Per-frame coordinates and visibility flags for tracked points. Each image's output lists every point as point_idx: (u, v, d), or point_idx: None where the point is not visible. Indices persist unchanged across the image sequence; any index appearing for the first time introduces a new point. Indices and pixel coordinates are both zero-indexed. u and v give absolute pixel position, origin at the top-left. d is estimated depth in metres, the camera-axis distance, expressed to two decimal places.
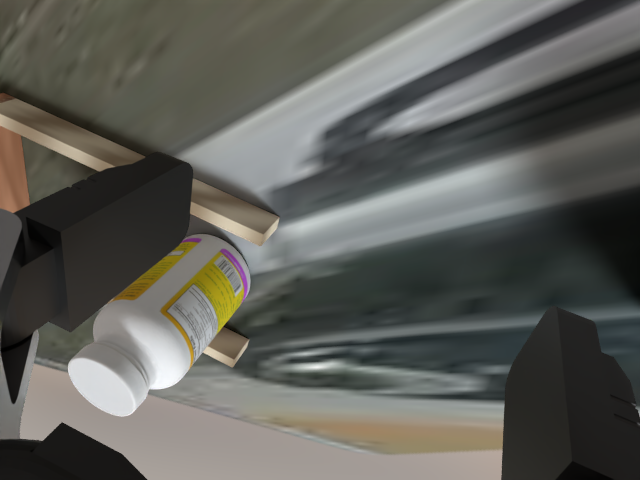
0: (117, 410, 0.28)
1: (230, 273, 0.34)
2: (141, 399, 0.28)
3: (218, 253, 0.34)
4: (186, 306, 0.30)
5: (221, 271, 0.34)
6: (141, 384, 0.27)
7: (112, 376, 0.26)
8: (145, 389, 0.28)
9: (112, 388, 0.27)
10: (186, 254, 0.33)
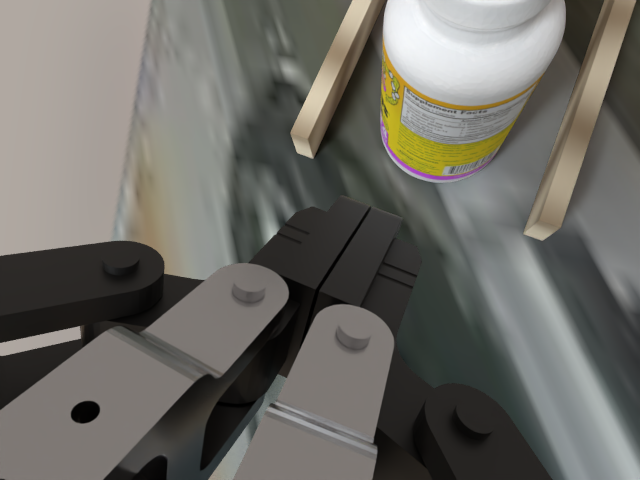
0: None
1: (477, 163, 0.24)
2: (463, 13, 0.15)
3: (498, 148, 0.24)
4: (516, 109, 0.19)
5: (490, 153, 0.23)
6: (497, 22, 0.15)
7: None
8: (477, 25, 0.15)
9: None
10: None
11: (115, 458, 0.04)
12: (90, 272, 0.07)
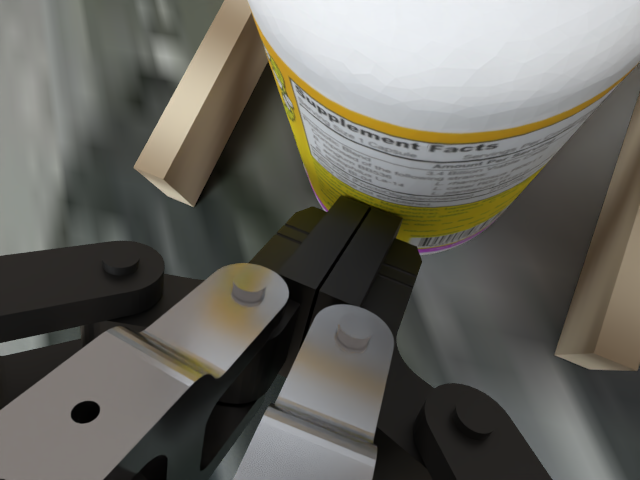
0: None
1: (474, 230, 0.13)
2: None
3: None
4: (565, 138, 0.08)
5: (497, 213, 0.12)
6: None
7: None
8: None
9: None
10: None
11: (115, 458, 0.04)
12: (91, 272, 0.07)
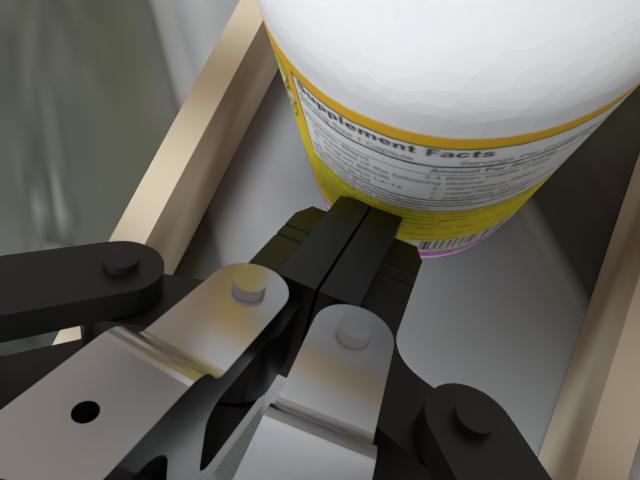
0: None
1: (474, 237, 0.12)
2: None
3: None
4: (567, 150, 0.08)
5: (499, 222, 0.12)
6: None
7: None
8: None
9: None
10: None
11: (115, 458, 0.04)
12: (91, 272, 0.07)
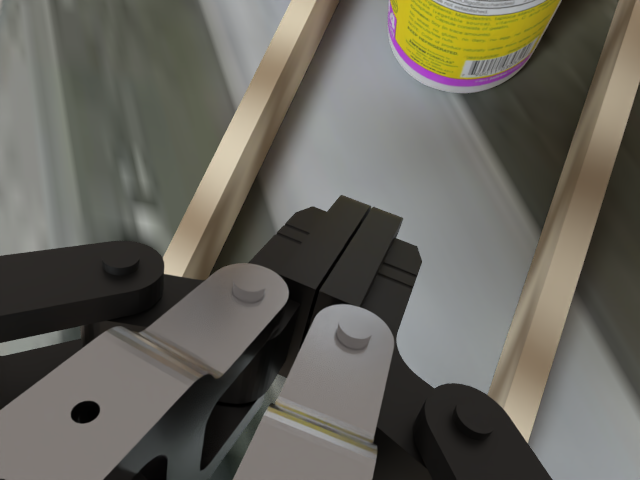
0: None
1: (506, 61, 0.19)
2: None
3: (533, 48, 0.19)
4: None
5: (523, 46, 0.18)
6: None
7: None
8: None
9: None
10: None
11: (115, 458, 0.04)
12: (90, 272, 0.07)
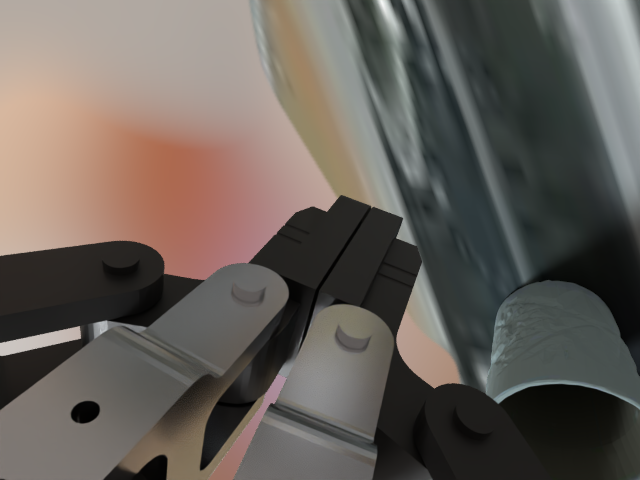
0: None
1: None
2: None
3: None
4: None
5: None
6: None
7: None
8: None
9: None
10: None
11: (115, 458, 0.04)
12: (90, 272, 0.07)
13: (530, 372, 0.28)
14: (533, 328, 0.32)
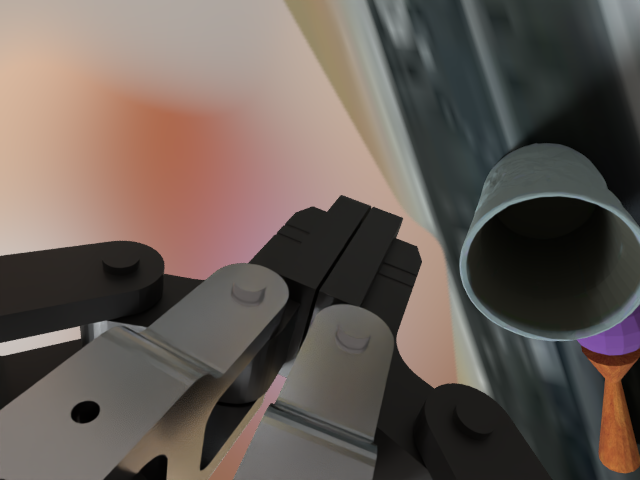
0: None
1: None
2: None
3: None
4: None
5: None
6: None
7: None
8: None
9: None
10: None
11: (115, 458, 0.04)
12: (90, 272, 0.07)
13: (511, 195, 0.28)
14: (516, 171, 0.32)
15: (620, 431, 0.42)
